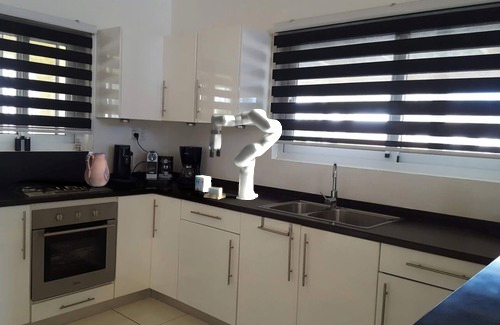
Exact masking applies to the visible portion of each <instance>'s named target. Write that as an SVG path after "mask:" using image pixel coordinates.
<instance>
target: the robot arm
mask: <svg viewBox="0 0 500 325" xmlns="http://www.w3.org/2000/svg"><path fill="white" fill-rule="evenodd" d="M210 119H211V120H210V136H209V142H208V150H209V158H212V159H213V158H214V157H218V158H221V152H222V146H223V145H222V128H223V127H235V126H242V125H243V126H244V125H249V124H250V125H251V124H253V125H254V126H256V127H257V128H259V129H260V130H261V131H262V132H263V133H265V134H264V135H262V136H261V137H260V139H258V140H257V141H254V142H250V143H248V144H246V145H245V146H244V147H243V148H242V149H241V150H240V151H239V152H238V153H236V155H235V156H234V158H233V160H234V162H233V163H234V165H236V166H237V168H238V167H239V168H240V169H239V180H238V181H239V184H238V195H236V199H238V200H246V201H247V200H249V201H250V200H254V199H256V198H258V196H259V195H258V193H255V191H254V173H255V171H254V170H255V165H256V157H261V156H262V155H263V154H264V153H265V152H267V151H268V149H270V148H271V147H272V146H273V145H274V144H275V143H276V142H278V140H279V139H280V137H281V135H282V133H283V132H282V129H283V128H282V125H281V123H280V122H279V121H278V120H277V119H269V118H268V117H267V114H266V112H265V111H264V110H263V109H259V108H257V109H256V108H252V109H251V110H249V111H242V112H241V113H239V114H234V115H224V114H223V115H219V114H213V115H211V118H210ZM215 150H216V151H215Z"/></svg>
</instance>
